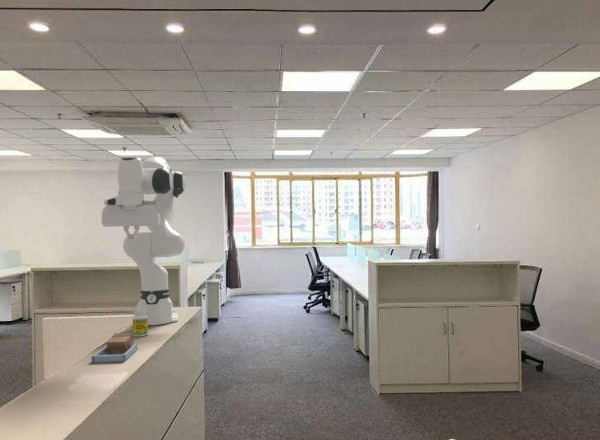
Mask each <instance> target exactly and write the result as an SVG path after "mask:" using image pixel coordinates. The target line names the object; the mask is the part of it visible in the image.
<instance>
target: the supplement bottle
mask: <svg viewBox="0 0 600 440" xmlns="http://www.w3.org/2000/svg"><path fill="white" fill-rule="evenodd" d="M133 313H134V316H133V317H132V333H133V337H135V338H136V337H137V338H139V337H145V336H147V335H148V334H149V329H148V326H149V325H148V320H147V315H145V309H138V310H137V309H135V310H134V311H133Z"/></svg>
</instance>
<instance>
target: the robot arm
mask: <svg viewBox="0 0 600 440" xmlns="http://www.w3.org/2000/svg"><path fill="white" fill-rule="evenodd" d="M117 183H118V190H117V196H114V197H111V198H106V199H105V200H104V202H103V204H104V207H103V209H102V212H101V225H102V226H103V227H104V228H105V227H106V228H107V227H111V228H112V227H114V228H115V227H123V232H125V234H126V237H125V238H124V240H123V244H122V247H123V249H122V250H123V251H124V254H126V255H127V256H128V257H129V258H131V259H132V260H133V261H134V263H135V264H136V266H137V267H138V270H139V273H140V282H141V283H140V284H141V290H140V293H139V295H140V300H139V302H138V303H137V304H136V310H138V309H145V315H147V320H148V326H158V325H165V324H169V323H176V322H178V321H179V316H178V315H179V314H178V313H177V312H175V310H174V307H173V302H172V300H171V298H170V288H169V273H168V270H167V269H166V268H165V267H164V266H161V265H160V264H157V263H156V261H155V258H171V257H177V256H180V255H181V254H182V253H183V251H184V250H185V243H186V242H185V239H184V237H183V236H182V234H180V233H179V232H178V231H176V230H175V229H174V228H173V220H174V219H173V218H174V213H175V212H174V211H175V202H174V201H175V200H174V198H176V199H177V198H179V196H180V195H182V194H183V193H184V191H185V190H186V186H187V180H186V177H185V174H184V173H183V172H181V171H176V170H174V171H173V170H172V168H171V166H169V163H168V161H167V160H166V159H165V158H163V157H161V156H151V157H148V158H146V159H144V160H143V161H142V158H140V157H137V156H131V157H130V156H126V157H121V158H120V159H119V160H118V167H117ZM144 195H155V196H154V198H153V199H152V200H145V196H144ZM130 227H133V230H134V231H133V233H130V231H129V229H130ZM140 227H147V229H148V230H149V232H145V231H144V232H139V231H140Z"/></svg>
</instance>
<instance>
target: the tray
mask: <svg viewBox="0 0 600 440" xmlns="http://www.w3.org/2000/svg"><path fill="white" fill-rule="evenodd" d="M137 351H139V348H138V344H136V343H134V344H133V346H132V347H131V348H130V349H129V350H128V351H127V352H125V353H124V354H107V344H106V345H105V346H104V347H102V348H101V349H100V350H98V351H96V352H95V353H94V354H93V355H92V356H91V364H99V363H101V364H102V363H104V364H105V363H123V362H126V361H127V360H129V359H130V357H132V356H133V355H134V354H135V353H136V352H137Z"/></svg>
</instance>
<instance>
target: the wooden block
mask: <svg viewBox="0 0 600 440" xmlns="http://www.w3.org/2000/svg"><path fill="white" fill-rule="evenodd" d="M106 345H107V354H124V353H125V352H127V351H128V350H129V349H130V348H131V347H132V346H133V345H135V343H134V336H133V332H116V333H115V332H114V334H112V336H111V337H110V338H109V339H108V340H107V342H106Z"/></svg>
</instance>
